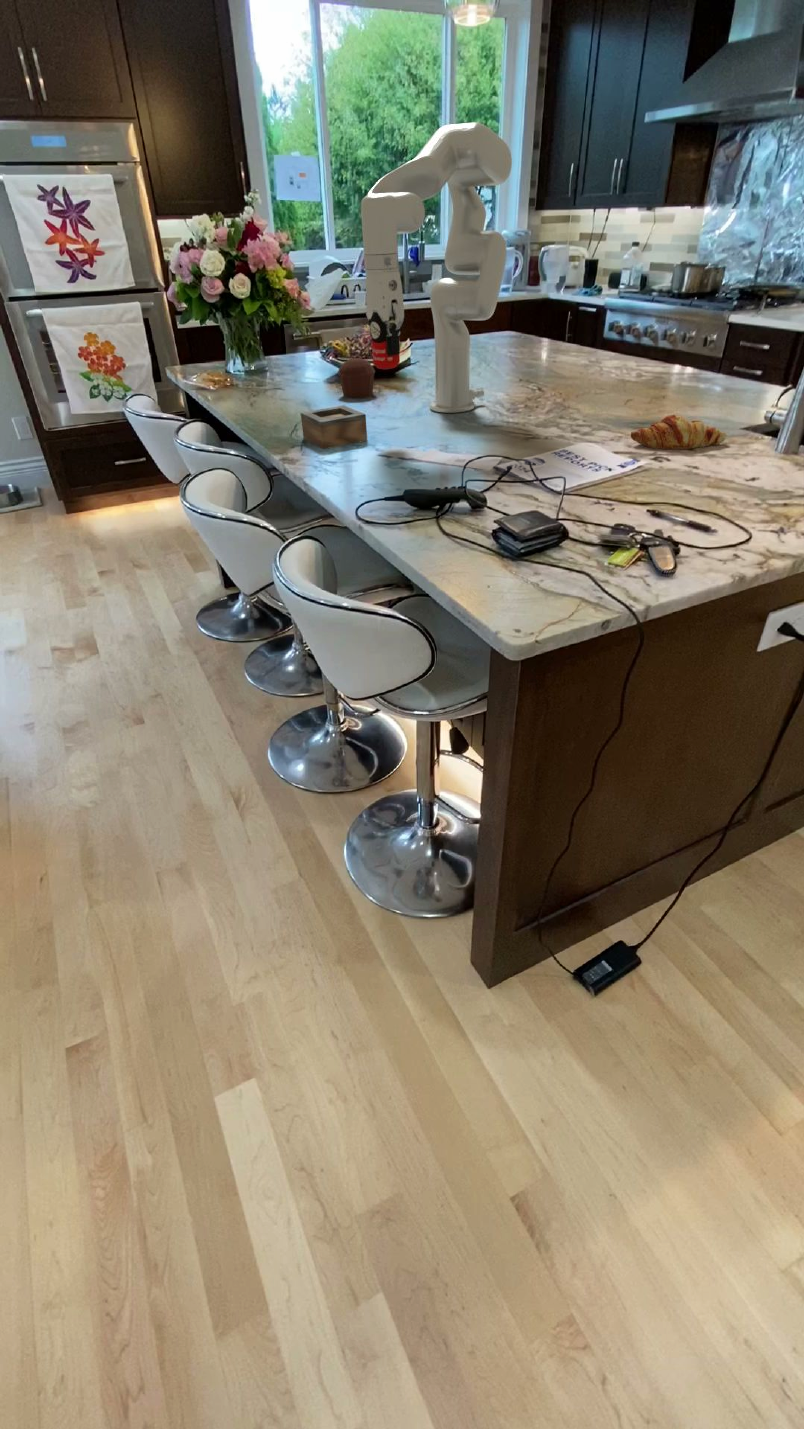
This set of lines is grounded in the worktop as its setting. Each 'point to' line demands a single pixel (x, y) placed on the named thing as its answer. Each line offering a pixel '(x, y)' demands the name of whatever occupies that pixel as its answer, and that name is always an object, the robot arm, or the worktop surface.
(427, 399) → the worktop surface
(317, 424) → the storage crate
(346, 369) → the muffin
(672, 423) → the croissant
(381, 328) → the beverage can
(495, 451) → the worktop surface
